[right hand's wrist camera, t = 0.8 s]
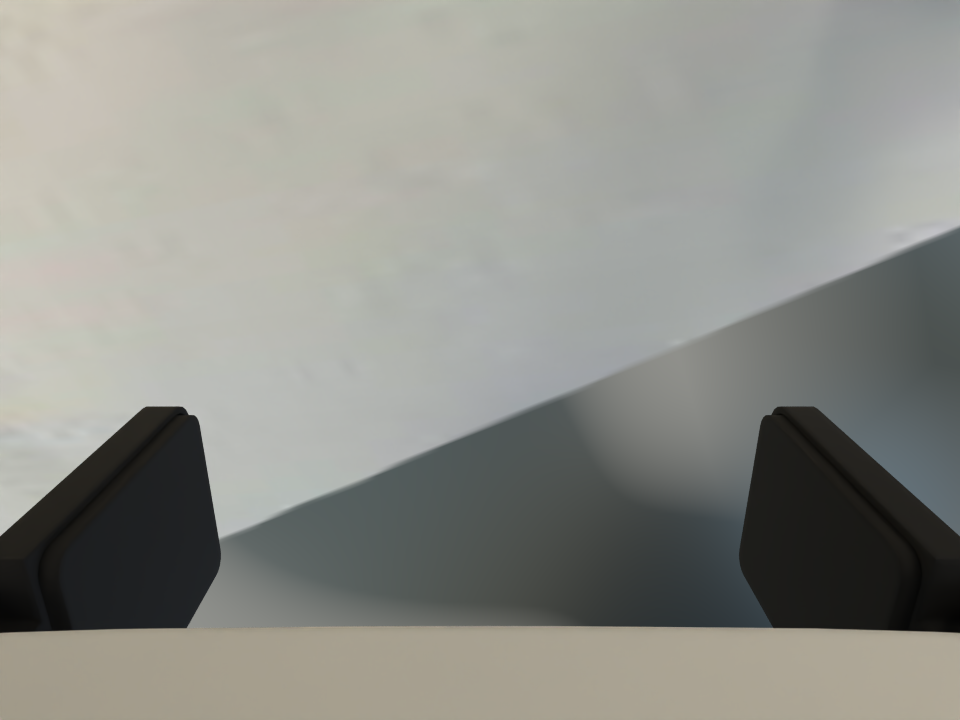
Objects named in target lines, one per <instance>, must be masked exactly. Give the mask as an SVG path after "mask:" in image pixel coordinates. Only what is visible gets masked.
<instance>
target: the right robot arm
mask: <svg viewBox="0 0 960 720" xmlns="http://www.w3.org/2000/svg"><path fill="white" fill-rule="evenodd" d="M220 560H221V551H220V544H219V538H218V532H217V526H216V520H215V514H214V508H213V502H212V496H211V490H210V484H209V478H208V472H207V466H206V460H205V455H204V449H203V443H202V437H201V431H200V425H199V421H198V419H197V417H196V416H194V415H188V413H187V411H186V409H184V408H183V407H145V408H143V409H142V410H141V411H140V412H138V413H137V414H136V415H135V416H134V417H133V418H132V419H131V420H129V421H128V422H127V423H126V424H125V425H124V426H123V427H122V428H121V429H119V430H118V431H117V432H116V433H115V434H114V435H113V436H112V437H111V438H109V439H108V440H107V441H106V442H105V443H104V444H103V445H102V446H100V447H99V448H98V449H97V450H96V451H95V452H94V453H93V454H92V455H90V456H89V457H88V458H87V459H86V460H85V461H84V462H83V463H82V464H80V465H79V466H78V467H77V468H76V469H75V470H74V471H73V472H71V473H70V474H69V475H68V476H67V477H66V478H65V479H64V480H63V481H61V482H60V483H59V484H58V485H57V486H56V487H55V488H54V489H53V490H51V491H50V492H49V493H48V494H47V495H46V496H45V497H44V498H42V499H41V500H40V501H39V502H38V503H37V504H36V505H35V506H34V507H32V508H31V509H30V510H29V511H28V512H27V513H26V514H25V515H24V516H22V517H21V518H20V519H19V520H18V521H17V522H16V523H15V524H13V525H12V526H11V527H10V528H9V529H8V530H7V531H6V532H5V533H3V534H2V535H1V536H0V720H960V536H959V535H958V534H957V533H955V532H954V531H953V530H952V529H951V528H950V527H949V526H948V525H946V524H945V523H944V522H943V521H942V520H941V519H940V518H939V517H938V516H936V515H935V514H934V513H933V512H932V511H931V510H930V509H929V508H928V507H926V506H925V505H924V504H923V503H922V502H921V501H920V500H919V499H917V498H916V497H915V496H914V495H913V494H912V493H911V492H910V491H909V490H907V489H906V488H905V487H904V486H903V485H902V484H901V483H900V482H899V481H897V480H896V479H895V478H894V477H893V476H892V475H891V474H890V473H888V472H887V471H886V470H885V469H884V468H883V467H882V466H881V465H880V464H878V463H877V462H876V461H875V460H874V459H873V458H872V457H871V456H870V455H868V454H867V453H866V452H865V451H864V450H863V449H862V448H861V447H859V446H858V445H857V444H856V443H855V442H854V441H853V440H852V439H851V438H849V437H848V436H847V435H846V434H845V433H844V432H843V431H842V430H841V429H839V428H838V427H837V426H836V425H835V424H834V423H833V422H831V421H830V420H829V419H828V418H827V417H826V416H825V415H824V414H823V413H822V412H820V411H819V410H818V409H817V408H815V407H777V408H776V409H774V411H773V413H772V415H766V416H765V417H763V419H762V421H761V425H760V431H759V437H758V443H757V449H756V455H755V460H754V466H753V473H752V478H751V484H750V491H749V496H748V502H747V508H746V514H745V520H744V526H743V532H742V538H741V544H740V551H739V560H740V566H741V570H742V572H743V575H744V577H745V578H746V580H747V582H748V584H749V585H750V587H751V589H752V591H753V593H754V594H755V596H756V598H757V600H758V601H759V603H760V605H761V607H762V608H763V610H764V612H765V614H766V616H767V617H768V619H769V621H770V623H771V625H772V626H773V628H697V627H696V628H695V627H582V626H349V627H348V626H347V627H257V628H187V626H188V624H189V623H190V621H191V619H192V617H193V616H194V614H195V612H196V610H197V609H198V607H199V605H200V603H201V601H202V600H203V598H204V596H205V594H206V593H207V591H208V589H209V587H210V585H211V584H212V582H213V580H214V578H215V577H216V575H217V572H218V570H219V566H220Z"/></svg>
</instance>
